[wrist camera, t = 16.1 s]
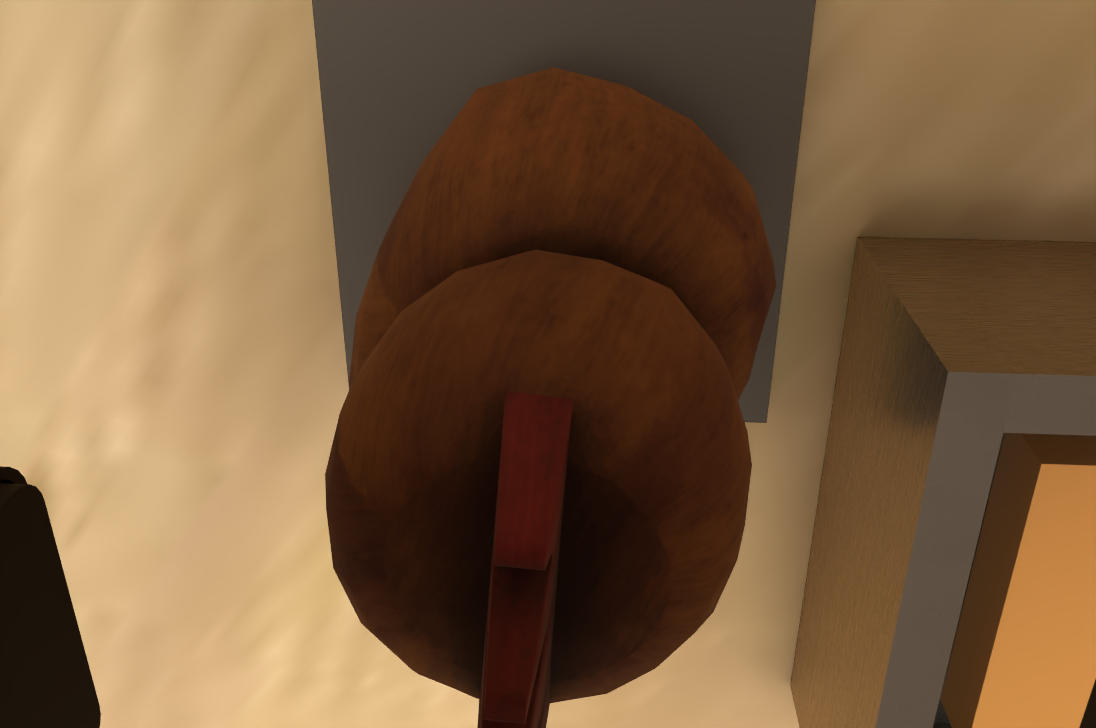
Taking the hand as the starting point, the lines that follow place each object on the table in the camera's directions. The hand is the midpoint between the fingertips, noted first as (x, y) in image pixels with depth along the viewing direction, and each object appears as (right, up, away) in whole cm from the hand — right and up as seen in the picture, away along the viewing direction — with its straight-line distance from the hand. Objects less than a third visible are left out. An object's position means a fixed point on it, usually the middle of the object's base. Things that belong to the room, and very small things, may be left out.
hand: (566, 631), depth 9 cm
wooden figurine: (0, +5, +11) cm, 12 cm away
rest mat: (0, +6, +11) cm, 13 cm away
